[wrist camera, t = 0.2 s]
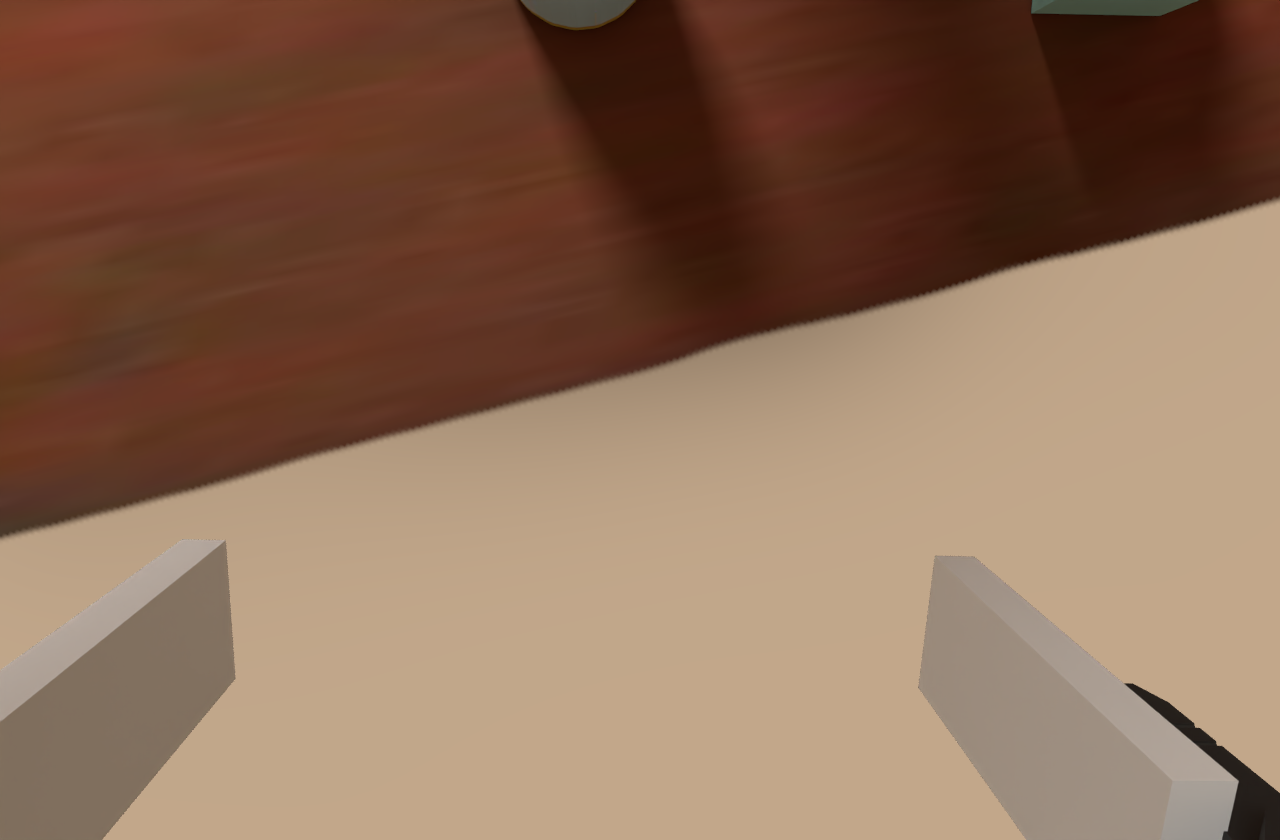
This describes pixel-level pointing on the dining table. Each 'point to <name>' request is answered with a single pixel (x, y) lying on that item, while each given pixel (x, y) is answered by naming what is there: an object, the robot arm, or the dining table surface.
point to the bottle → (578, 12)
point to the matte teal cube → (1108, 7)
